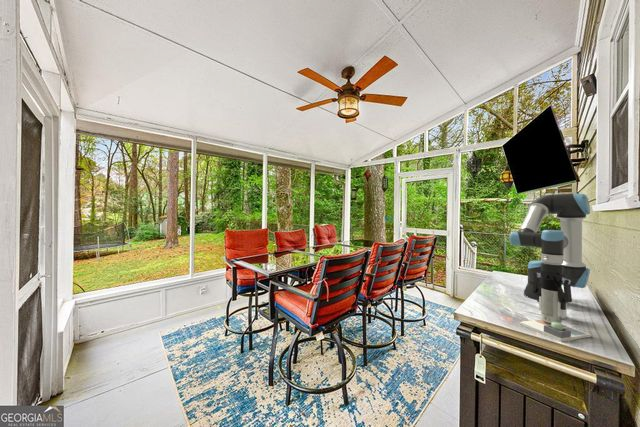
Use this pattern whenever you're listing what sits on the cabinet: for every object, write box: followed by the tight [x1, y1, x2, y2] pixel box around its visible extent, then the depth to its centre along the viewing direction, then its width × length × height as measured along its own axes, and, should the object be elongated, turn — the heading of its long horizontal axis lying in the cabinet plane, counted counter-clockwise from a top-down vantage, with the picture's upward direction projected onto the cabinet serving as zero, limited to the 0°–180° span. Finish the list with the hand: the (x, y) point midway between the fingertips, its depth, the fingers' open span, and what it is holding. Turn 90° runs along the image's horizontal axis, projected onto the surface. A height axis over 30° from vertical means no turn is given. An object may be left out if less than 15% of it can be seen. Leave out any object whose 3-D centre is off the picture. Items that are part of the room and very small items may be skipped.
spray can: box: [540, 277, 562, 324], centre depth 112 cm, size 7×7×20 cm
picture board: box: [518, 318, 592, 342], centre depth 108 cm, size 18×16×4 cm
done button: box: [551, 322, 564, 331], centre depth 102 cm, size 4×4×3 cm
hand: (550, 312), depth 112 cm, fingers closed on spray can, 7 cm apart
